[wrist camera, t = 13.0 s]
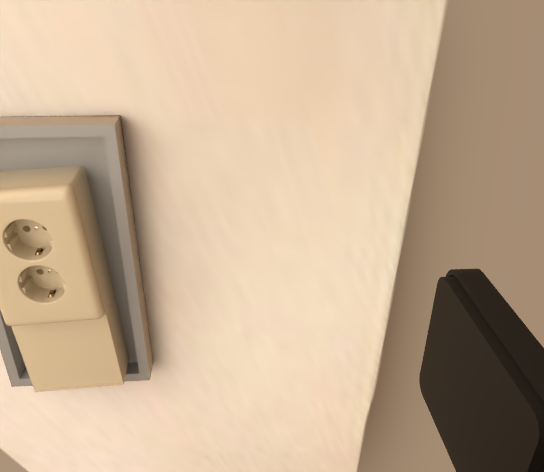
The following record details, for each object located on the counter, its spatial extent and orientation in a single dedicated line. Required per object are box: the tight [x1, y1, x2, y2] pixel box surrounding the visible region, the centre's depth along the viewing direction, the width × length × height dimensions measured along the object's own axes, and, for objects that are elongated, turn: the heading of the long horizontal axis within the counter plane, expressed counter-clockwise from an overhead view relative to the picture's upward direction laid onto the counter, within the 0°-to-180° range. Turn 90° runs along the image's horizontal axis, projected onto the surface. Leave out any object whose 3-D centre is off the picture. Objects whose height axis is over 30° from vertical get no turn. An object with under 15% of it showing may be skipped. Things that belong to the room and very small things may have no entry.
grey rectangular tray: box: [0, 115, 153, 387], centre depth 40 cm, size 23×12×2 cm, turn 0°
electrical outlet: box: [0, 166, 130, 392], centre depth 39 cm, size 7×4×18 cm
